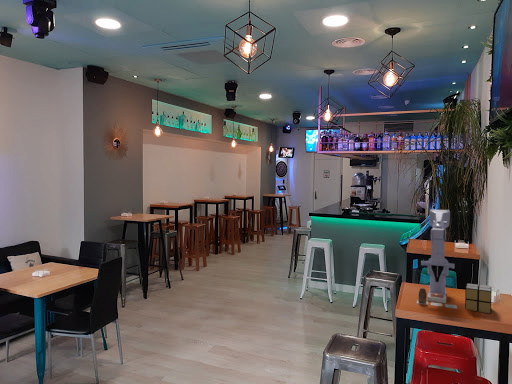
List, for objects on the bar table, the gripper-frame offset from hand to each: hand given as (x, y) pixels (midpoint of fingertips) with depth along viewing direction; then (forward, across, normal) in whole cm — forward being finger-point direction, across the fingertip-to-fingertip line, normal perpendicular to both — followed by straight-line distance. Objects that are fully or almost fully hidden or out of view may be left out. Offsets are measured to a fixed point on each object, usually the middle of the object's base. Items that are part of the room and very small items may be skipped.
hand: (437, 281), depth 187 cm
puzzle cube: (+10, +17, -4) cm, 20 cm away
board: (+9, 0, -8) cm, 12 cm away
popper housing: (+9, 0, 0) cm, 9 cm away
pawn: (+9, -6, -8) cm, 13 cm away
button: (+9, 0, 0) cm, 9 cm away
